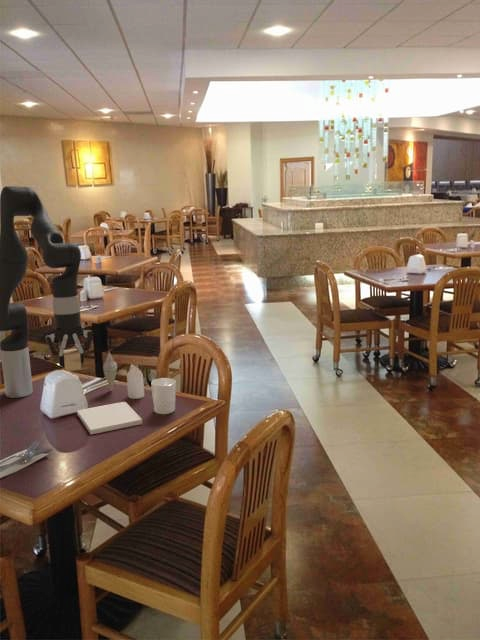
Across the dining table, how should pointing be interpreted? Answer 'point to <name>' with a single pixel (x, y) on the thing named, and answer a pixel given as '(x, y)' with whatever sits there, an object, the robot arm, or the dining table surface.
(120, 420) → the platter
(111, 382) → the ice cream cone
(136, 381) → the white pointed crystal
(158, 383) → the white cup
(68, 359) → the oak block
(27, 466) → the dining table surface
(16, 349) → the robot arm
